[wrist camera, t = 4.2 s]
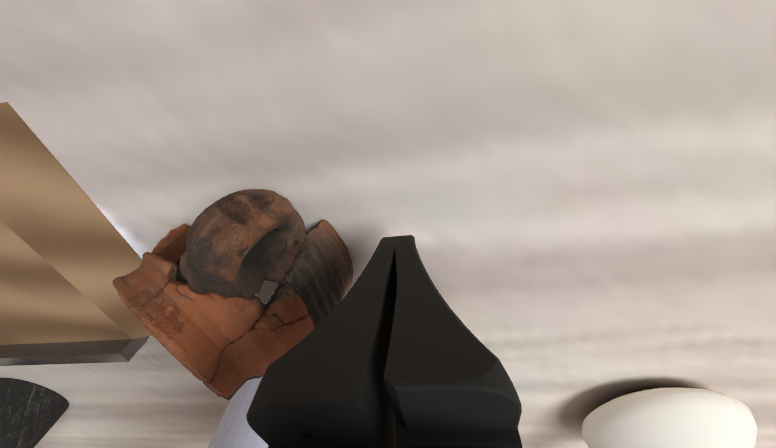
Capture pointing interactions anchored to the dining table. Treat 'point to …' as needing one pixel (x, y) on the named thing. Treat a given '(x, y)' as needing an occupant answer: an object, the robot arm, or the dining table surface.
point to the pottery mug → (237, 287)
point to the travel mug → (27, 412)
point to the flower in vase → (671, 421)
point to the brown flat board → (55, 251)
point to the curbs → (70, 352)
